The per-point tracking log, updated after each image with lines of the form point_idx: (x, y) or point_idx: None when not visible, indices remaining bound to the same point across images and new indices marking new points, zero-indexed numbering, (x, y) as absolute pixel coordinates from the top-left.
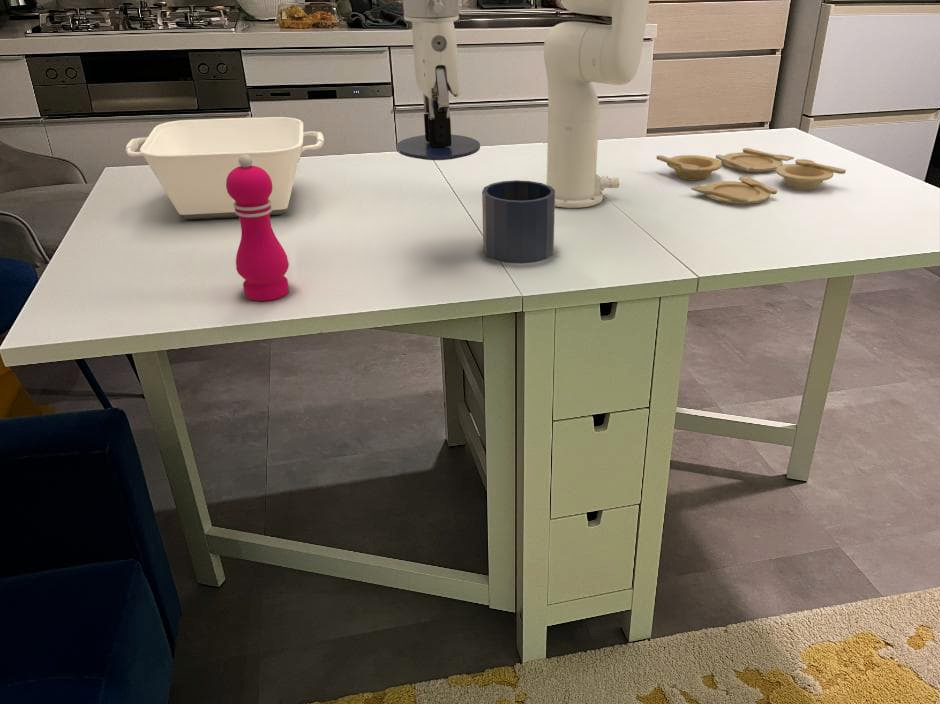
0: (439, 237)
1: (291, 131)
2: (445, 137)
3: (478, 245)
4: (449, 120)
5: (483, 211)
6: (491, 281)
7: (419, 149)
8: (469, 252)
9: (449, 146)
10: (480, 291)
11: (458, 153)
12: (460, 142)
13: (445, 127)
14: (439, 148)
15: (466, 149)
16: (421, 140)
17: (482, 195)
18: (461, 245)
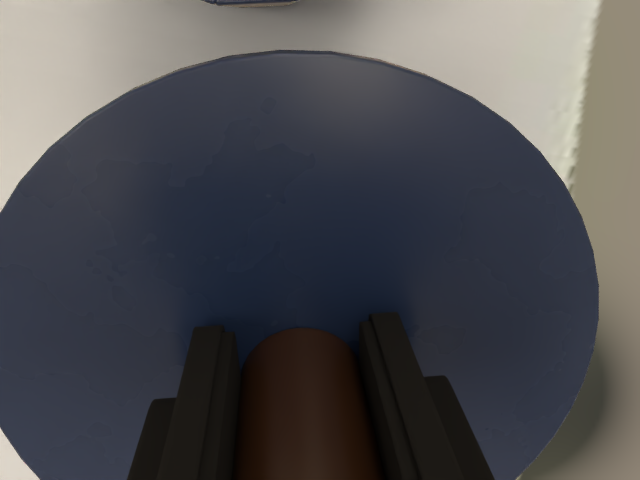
0: (59, 130)
1: None
2: (449, 395)
3: (147, 6)
4: (455, 469)
5: (246, 5)
6: (471, 30)
7: None
8: (213, 52)
9: (372, 312)
10: (529, 79)
11: (575, 275)
12: (269, 220)
13: (484, 459)
14: None
15: (497, 205)
16: None
17: (225, 5)
18: (143, 68)
